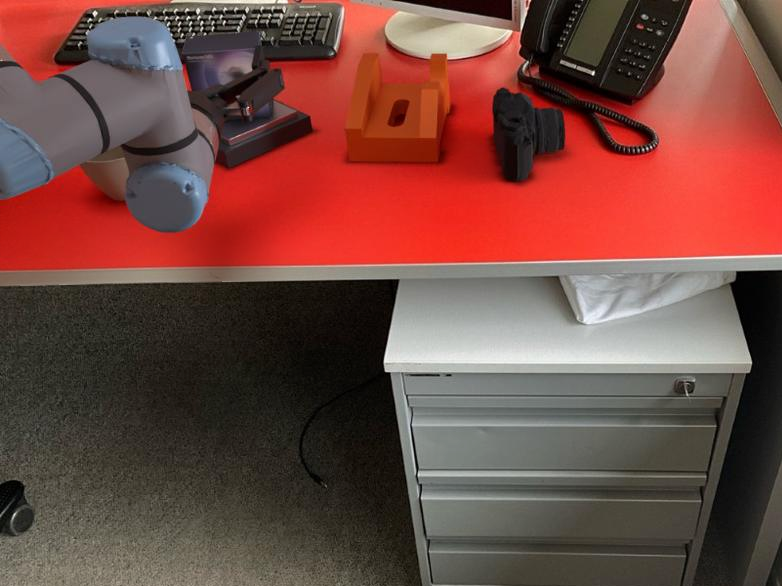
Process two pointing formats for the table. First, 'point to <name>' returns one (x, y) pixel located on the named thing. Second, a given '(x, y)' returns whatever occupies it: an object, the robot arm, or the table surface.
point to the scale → (260, 134)
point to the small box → (221, 61)
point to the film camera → (524, 132)
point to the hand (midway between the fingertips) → (206, 59)
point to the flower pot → (108, 172)
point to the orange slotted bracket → (387, 100)
